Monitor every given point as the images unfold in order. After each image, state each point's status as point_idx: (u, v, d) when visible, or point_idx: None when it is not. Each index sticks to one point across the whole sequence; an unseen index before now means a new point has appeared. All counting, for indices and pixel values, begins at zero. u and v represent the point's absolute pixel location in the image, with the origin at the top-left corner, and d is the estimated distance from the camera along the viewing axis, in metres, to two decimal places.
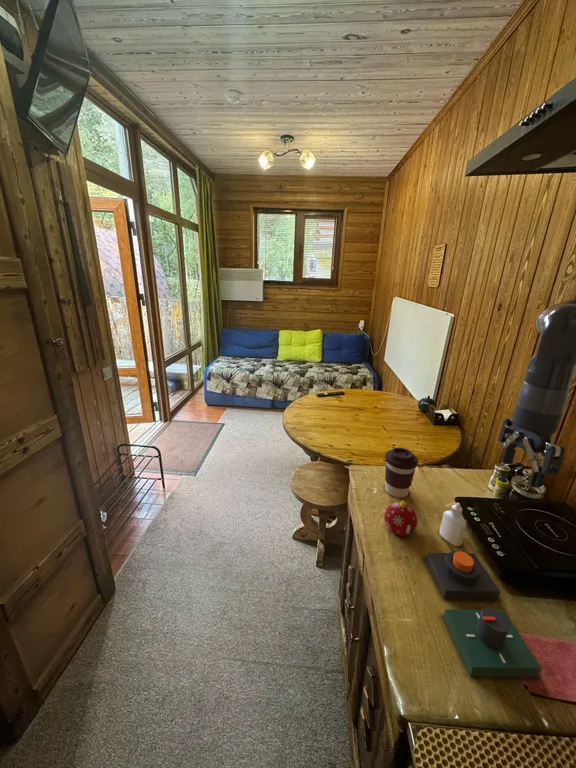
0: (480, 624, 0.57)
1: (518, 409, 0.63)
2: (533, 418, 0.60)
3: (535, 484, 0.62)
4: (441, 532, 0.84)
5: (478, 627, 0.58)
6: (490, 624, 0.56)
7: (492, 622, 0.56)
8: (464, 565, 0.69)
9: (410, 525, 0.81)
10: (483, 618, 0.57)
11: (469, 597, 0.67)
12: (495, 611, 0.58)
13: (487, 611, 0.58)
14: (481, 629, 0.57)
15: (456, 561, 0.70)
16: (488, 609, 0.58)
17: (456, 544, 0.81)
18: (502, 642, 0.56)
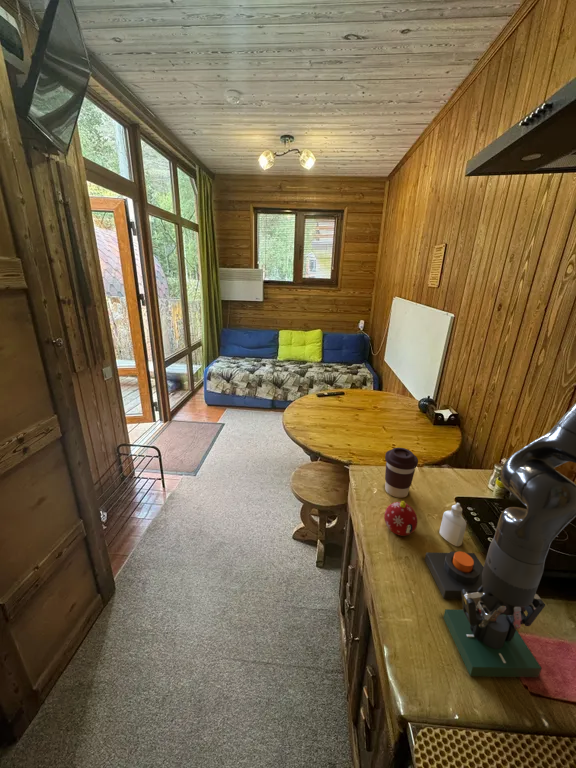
0: None
1: None
2: (485, 561, 0.56)
3: None
4: (441, 532, 0.84)
5: None
6: (490, 624, 0.56)
7: (492, 622, 0.56)
8: (464, 565, 0.69)
9: (410, 525, 0.81)
10: None
11: None
12: None
13: None
14: None
15: (456, 561, 0.70)
16: None
17: (456, 544, 0.81)
18: (502, 642, 0.56)
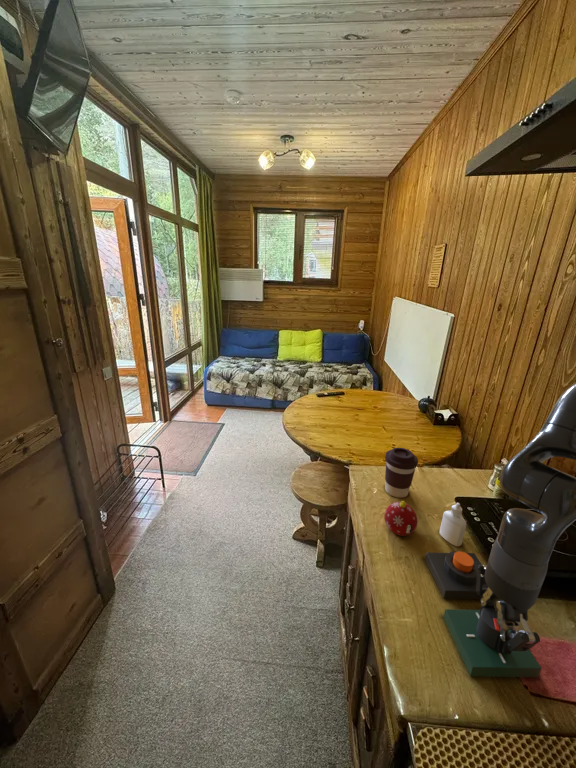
0: (493, 637, 0.55)
1: (490, 570, 0.53)
2: (506, 589, 0.51)
3: (502, 652, 0.54)
4: (441, 532, 0.84)
5: (490, 640, 0.56)
6: None
7: None
8: (464, 565, 0.69)
9: (410, 525, 0.81)
10: (497, 630, 0.55)
11: (469, 597, 0.67)
12: (485, 611, 0.58)
13: (486, 618, 0.57)
14: (496, 640, 0.55)
15: (456, 561, 0.70)
16: (483, 615, 0.57)
17: (456, 544, 0.81)
18: None
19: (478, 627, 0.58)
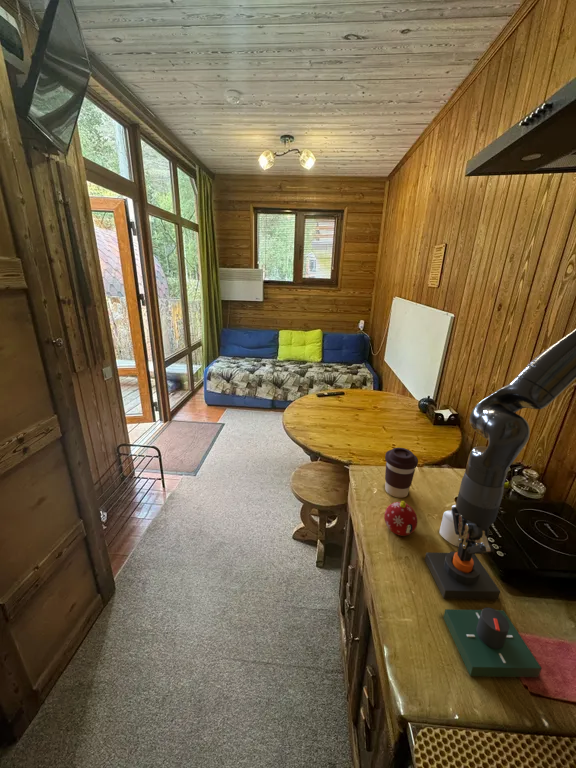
0: (493, 637, 0.55)
1: (460, 498, 0.66)
2: (471, 510, 0.63)
3: (464, 559, 0.69)
4: (441, 532, 0.84)
5: (490, 641, 0.56)
6: (503, 629, 0.55)
7: (500, 625, 0.56)
8: (464, 565, 0.69)
9: (410, 525, 0.81)
10: (497, 630, 0.55)
11: (469, 597, 0.67)
12: (485, 611, 0.58)
13: (486, 618, 0.57)
14: (496, 640, 0.55)
15: (456, 561, 0.70)
16: (483, 616, 0.57)
17: (456, 544, 0.81)
18: None
19: (478, 628, 0.58)
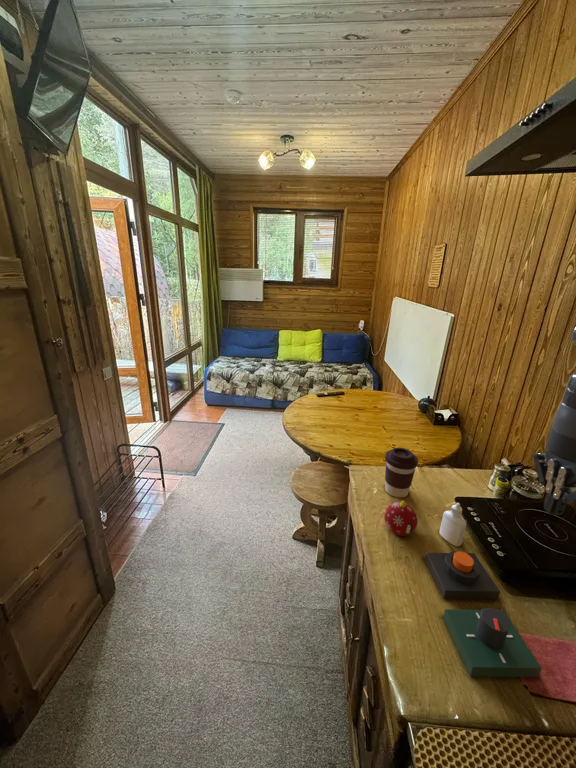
0: (493, 637, 0.55)
1: (555, 435, 0.54)
2: (574, 446, 0.51)
3: (555, 512, 0.57)
4: (441, 532, 0.84)
5: (490, 641, 0.56)
6: (503, 629, 0.55)
7: (500, 625, 0.56)
8: (464, 565, 0.69)
9: (410, 525, 0.81)
10: (497, 630, 0.55)
11: (469, 597, 0.67)
12: (485, 611, 0.58)
13: (486, 618, 0.57)
14: (496, 640, 0.55)
15: (456, 561, 0.70)
16: (483, 616, 0.57)
17: (456, 544, 0.81)
18: None
19: (478, 628, 0.58)
